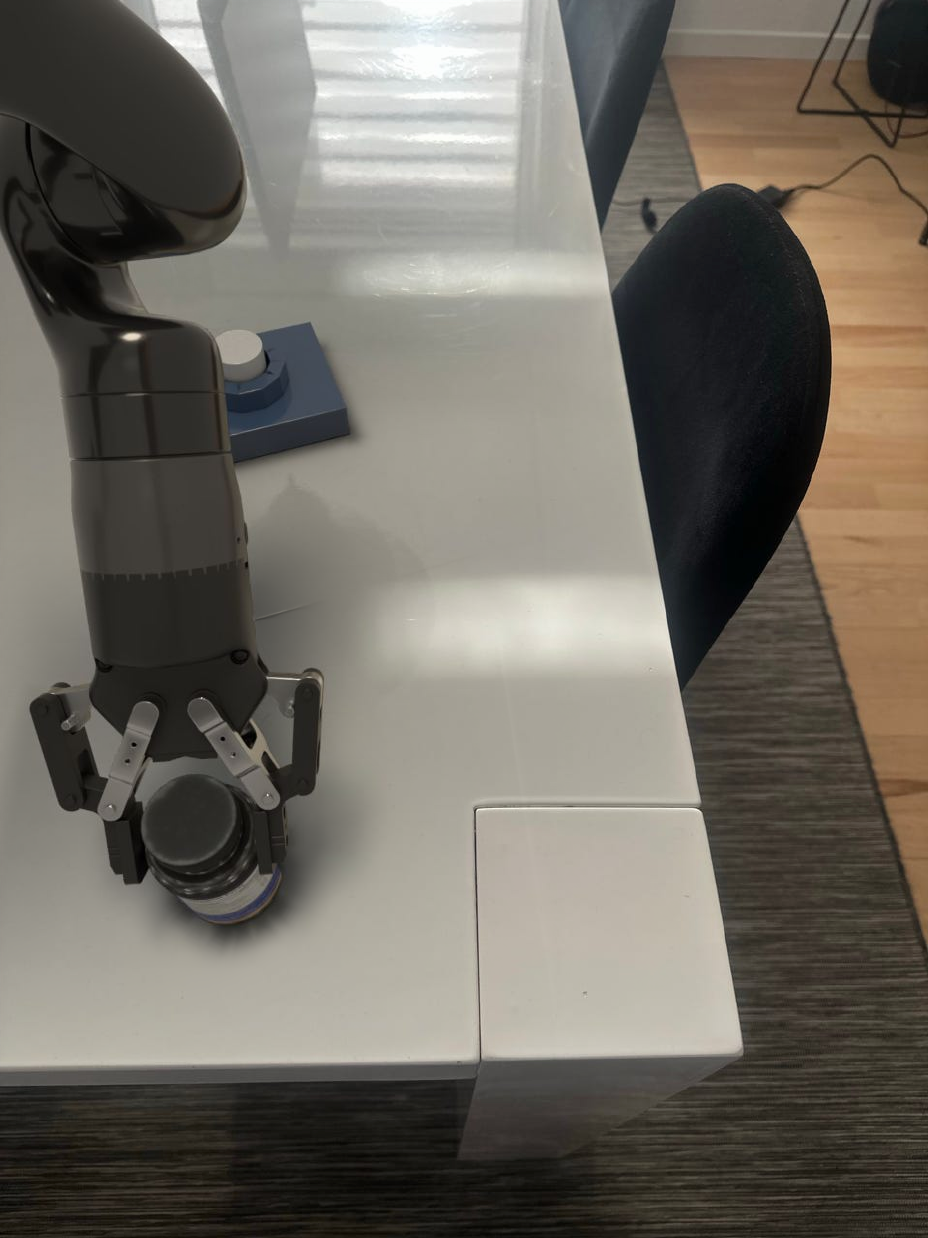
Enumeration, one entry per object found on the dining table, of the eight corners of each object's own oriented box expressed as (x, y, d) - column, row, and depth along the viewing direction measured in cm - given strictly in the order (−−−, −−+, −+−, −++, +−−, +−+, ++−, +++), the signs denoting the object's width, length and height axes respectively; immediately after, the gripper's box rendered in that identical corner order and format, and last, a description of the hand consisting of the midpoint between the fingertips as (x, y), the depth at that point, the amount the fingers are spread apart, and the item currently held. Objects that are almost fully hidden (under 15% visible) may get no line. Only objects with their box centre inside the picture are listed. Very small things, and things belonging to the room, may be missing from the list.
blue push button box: (181, 476, 67) (164, 431, 62) (157, 384, 72) (139, 337, 68) (350, 433, 70) (344, 388, 65) (314, 348, 75) (307, 301, 71)
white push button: (222, 389, 65) (216, 368, 64) (211, 356, 67) (205, 335, 66) (272, 377, 66) (267, 357, 64) (260, 345, 68) (255, 324, 66)
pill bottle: (186, 830, 52) (131, 763, 42) (285, 820, 52) (252, 753, 43) (179, 933, 49) (118, 887, 39) (285, 922, 49) (250, 873, 40)
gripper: (-33, 575, 35) (31, 926, 39) (311, 558, 36) (339, 901, 40) (41, 548, 42) (88, 846, 46) (325, 535, 43) (347, 827, 47)
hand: (204, 870), depth 43 cm, fingers closed on pill bottle, 6 cm apart
